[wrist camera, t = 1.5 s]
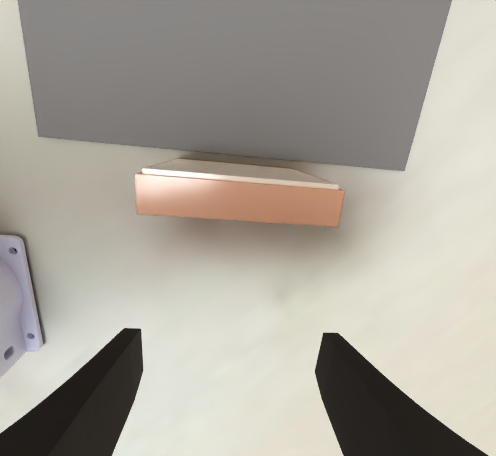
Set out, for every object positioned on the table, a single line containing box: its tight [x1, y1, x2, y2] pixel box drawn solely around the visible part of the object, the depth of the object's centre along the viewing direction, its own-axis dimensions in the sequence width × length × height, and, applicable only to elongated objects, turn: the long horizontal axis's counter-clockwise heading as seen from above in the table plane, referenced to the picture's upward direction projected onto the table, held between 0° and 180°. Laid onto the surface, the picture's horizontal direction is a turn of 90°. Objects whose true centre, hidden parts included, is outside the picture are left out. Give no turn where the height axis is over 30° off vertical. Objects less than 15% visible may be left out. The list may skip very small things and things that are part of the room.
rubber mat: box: [18, 0, 452, 171], centre depth 15 cm, size 12×24×1 cm, turn 85°
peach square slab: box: [135, 159, 345, 227], centre depth 13 cm, size 2×8×8 cm, turn 85°
